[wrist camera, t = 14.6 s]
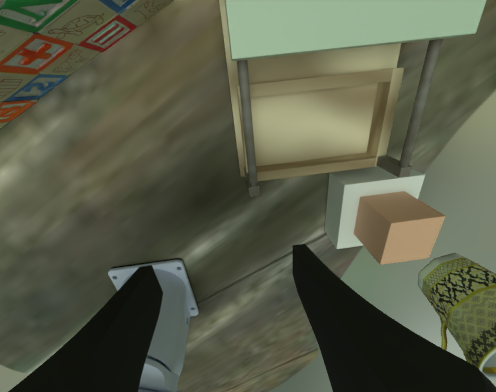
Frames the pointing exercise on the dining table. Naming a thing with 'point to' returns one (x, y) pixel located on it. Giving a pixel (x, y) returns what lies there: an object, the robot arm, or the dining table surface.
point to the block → (397, 227)
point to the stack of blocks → (57, 42)
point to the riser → (348, 195)
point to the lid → (342, 24)
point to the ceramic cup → (464, 306)
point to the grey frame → (320, 110)
